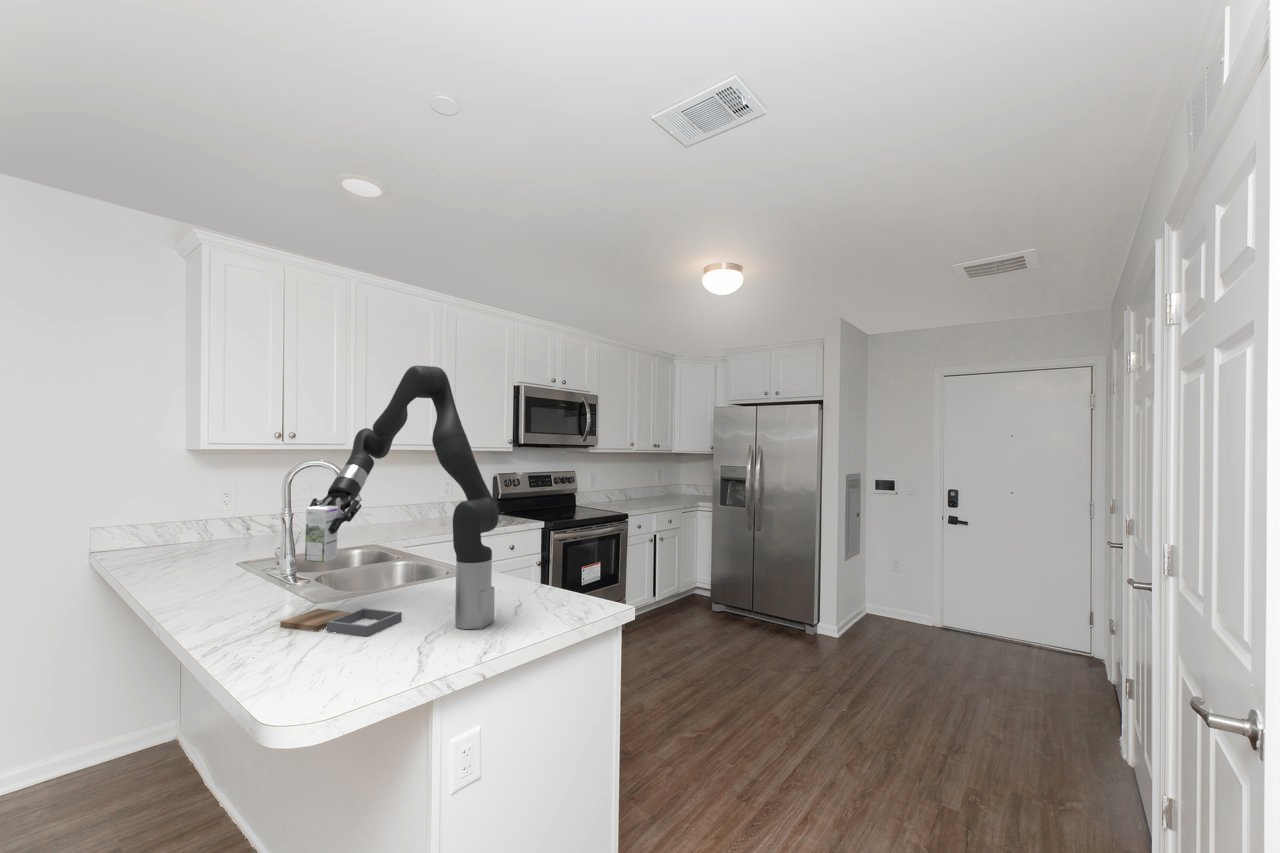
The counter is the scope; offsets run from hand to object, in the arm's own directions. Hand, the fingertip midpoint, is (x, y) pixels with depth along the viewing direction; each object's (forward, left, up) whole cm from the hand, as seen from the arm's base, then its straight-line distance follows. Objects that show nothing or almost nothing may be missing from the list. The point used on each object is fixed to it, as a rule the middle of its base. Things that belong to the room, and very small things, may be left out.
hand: (320, 531), depth 151 cm
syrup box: (0, -1, -8) cm, 8 cm away
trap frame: (-14, -1, -24) cm, 28 cm away
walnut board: (0, 0, -24) cm, 24 cm away
